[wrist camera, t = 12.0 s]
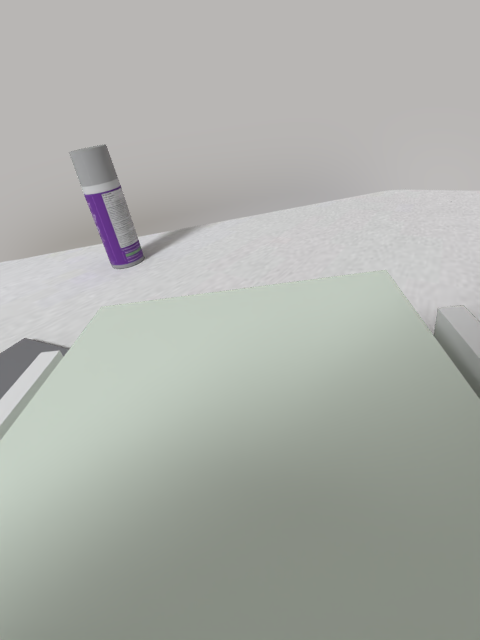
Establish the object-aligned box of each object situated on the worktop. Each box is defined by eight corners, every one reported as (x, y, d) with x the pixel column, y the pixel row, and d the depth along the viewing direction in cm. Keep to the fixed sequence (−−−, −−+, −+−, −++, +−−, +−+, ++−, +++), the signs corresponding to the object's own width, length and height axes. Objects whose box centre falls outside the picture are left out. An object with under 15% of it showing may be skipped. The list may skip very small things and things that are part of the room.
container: (105, 266, 51) (61, 153, 43) (132, 253, 54) (95, 145, 46) (123, 270, 48) (79, 151, 41) (150, 257, 51) (114, 143, 43)
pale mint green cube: (168, 463, 19) (101, 307, 14) (376, 449, 18) (386, 269, 13) (85, 800, 10) (-198, 702, 5) (501, 826, 9) (716, 727, 4)
